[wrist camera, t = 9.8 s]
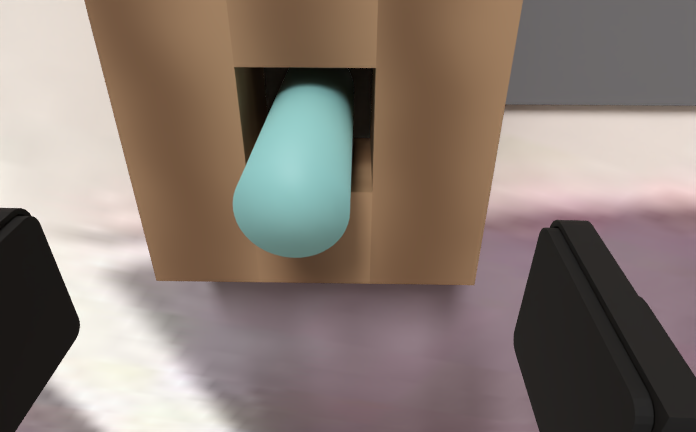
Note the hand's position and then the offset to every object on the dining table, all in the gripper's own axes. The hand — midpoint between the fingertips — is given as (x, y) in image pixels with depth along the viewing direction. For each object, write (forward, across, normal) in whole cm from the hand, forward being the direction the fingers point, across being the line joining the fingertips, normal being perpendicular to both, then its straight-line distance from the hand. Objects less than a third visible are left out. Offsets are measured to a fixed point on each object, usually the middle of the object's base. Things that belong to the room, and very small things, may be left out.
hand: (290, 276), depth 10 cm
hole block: (+13, +1, +1) cm, 13 cm away
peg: (+13, +1, +1) cm, 13 cm away
